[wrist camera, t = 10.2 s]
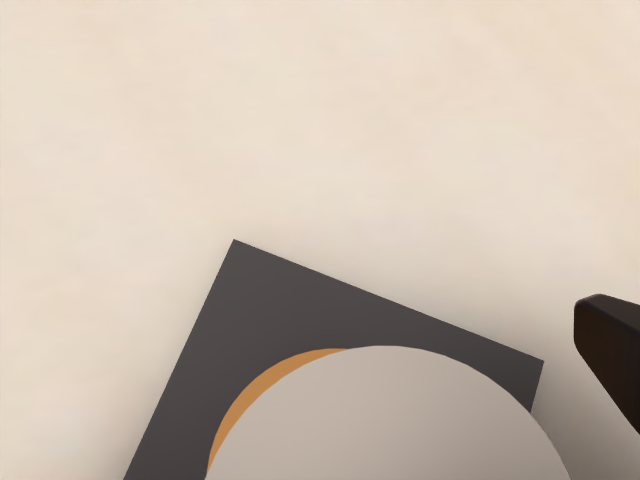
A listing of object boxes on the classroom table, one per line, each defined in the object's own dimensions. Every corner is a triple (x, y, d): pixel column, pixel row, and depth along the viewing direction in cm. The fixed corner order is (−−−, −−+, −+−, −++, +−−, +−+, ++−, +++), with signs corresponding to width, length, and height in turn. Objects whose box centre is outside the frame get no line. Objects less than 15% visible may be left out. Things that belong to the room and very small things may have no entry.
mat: (535, 363, 18) (544, 360, 18) (435, 730, 15) (441, 742, 15) (235, 244, 19) (233, 239, 18) (84, 575, 16) (76, 581, 15)
